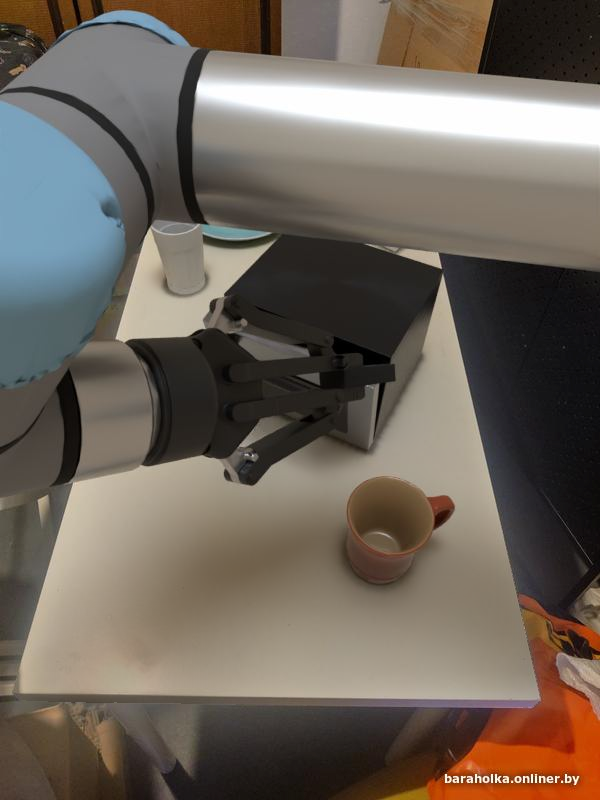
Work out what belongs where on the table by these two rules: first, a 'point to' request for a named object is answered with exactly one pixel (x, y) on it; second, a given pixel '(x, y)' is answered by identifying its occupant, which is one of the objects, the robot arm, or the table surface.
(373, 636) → the table surface
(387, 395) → the box
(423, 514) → the mug
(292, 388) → the door
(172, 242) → the cup
